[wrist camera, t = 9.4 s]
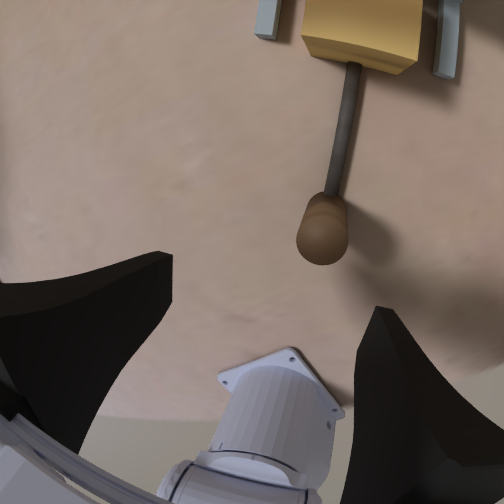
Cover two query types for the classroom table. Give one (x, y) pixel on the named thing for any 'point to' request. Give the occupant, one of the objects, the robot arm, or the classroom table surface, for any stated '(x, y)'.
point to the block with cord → (351, 94)
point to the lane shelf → (444, 41)
